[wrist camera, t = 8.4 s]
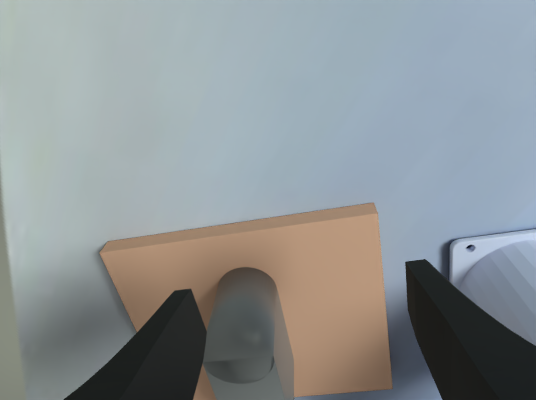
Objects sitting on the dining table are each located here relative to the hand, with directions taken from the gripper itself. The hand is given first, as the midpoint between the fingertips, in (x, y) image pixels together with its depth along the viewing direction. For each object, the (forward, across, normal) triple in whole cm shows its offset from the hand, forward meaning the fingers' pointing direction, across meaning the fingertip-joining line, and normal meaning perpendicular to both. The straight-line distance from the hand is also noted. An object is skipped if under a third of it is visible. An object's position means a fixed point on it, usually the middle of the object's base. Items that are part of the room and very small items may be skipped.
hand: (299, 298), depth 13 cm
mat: (+9, +4, +9) cm, 14 cm away
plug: (+8, +4, +9) cm, 13 cm away
